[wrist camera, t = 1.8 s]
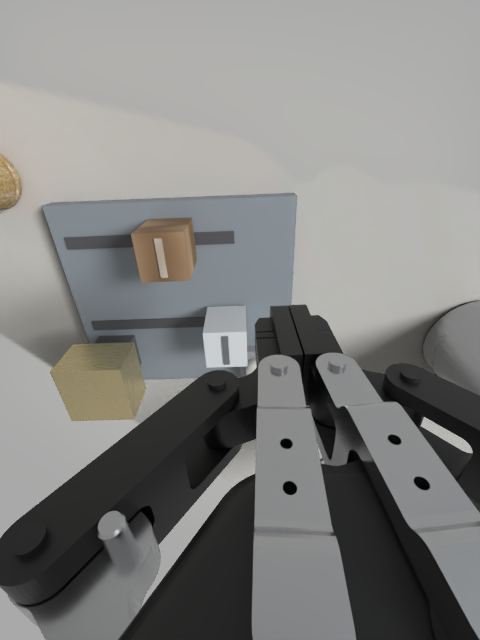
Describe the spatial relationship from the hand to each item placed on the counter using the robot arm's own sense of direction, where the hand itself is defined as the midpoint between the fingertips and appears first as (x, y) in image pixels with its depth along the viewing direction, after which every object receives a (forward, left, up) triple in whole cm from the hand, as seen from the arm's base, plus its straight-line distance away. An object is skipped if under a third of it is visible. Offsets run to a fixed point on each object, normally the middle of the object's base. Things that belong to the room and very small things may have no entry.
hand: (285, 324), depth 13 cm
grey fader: (+3, +8, -14) cm, 16 cm away
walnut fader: (+7, 0, -14) cm, 16 cm away
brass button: (+14, +11, -11) cm, 21 cm away
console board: (+7, +6, -15) cm, 18 cm away
